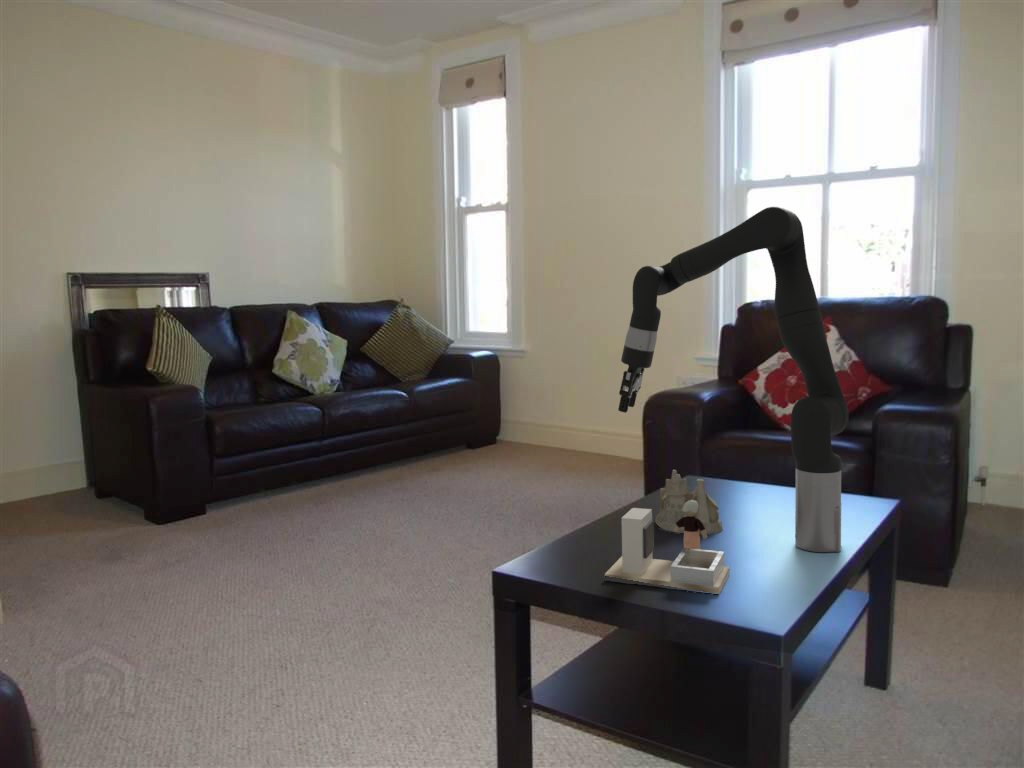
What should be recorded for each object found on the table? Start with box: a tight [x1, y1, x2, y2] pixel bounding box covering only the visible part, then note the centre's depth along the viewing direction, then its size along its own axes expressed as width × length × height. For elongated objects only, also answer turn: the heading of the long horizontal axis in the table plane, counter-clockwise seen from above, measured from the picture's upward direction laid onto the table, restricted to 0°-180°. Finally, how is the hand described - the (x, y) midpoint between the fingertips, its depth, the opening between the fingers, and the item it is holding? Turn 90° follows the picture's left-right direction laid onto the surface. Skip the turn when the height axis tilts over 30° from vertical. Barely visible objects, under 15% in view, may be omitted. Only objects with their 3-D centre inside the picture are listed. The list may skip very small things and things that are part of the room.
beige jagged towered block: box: [654, 469, 724, 535], centre depth 192 cm, size 16×16×15 cm
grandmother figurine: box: [674, 500, 708, 549], centre depth 166 cm, size 8×4×13 cm, turn 58°
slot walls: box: [670, 547, 725, 587], centre depth 153 cm, size 8×12×3 cm, turn 156°
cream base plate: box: [604, 555, 731, 595], centre depth 156 cm, size 22×12×2 cm, turn 66°
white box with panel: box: [621, 507, 655, 575], centre depth 158 cm, size 5×8×11 cm, turn 156°
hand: (626, 408), depth 199 cm, fingers open, 8 cm apart
